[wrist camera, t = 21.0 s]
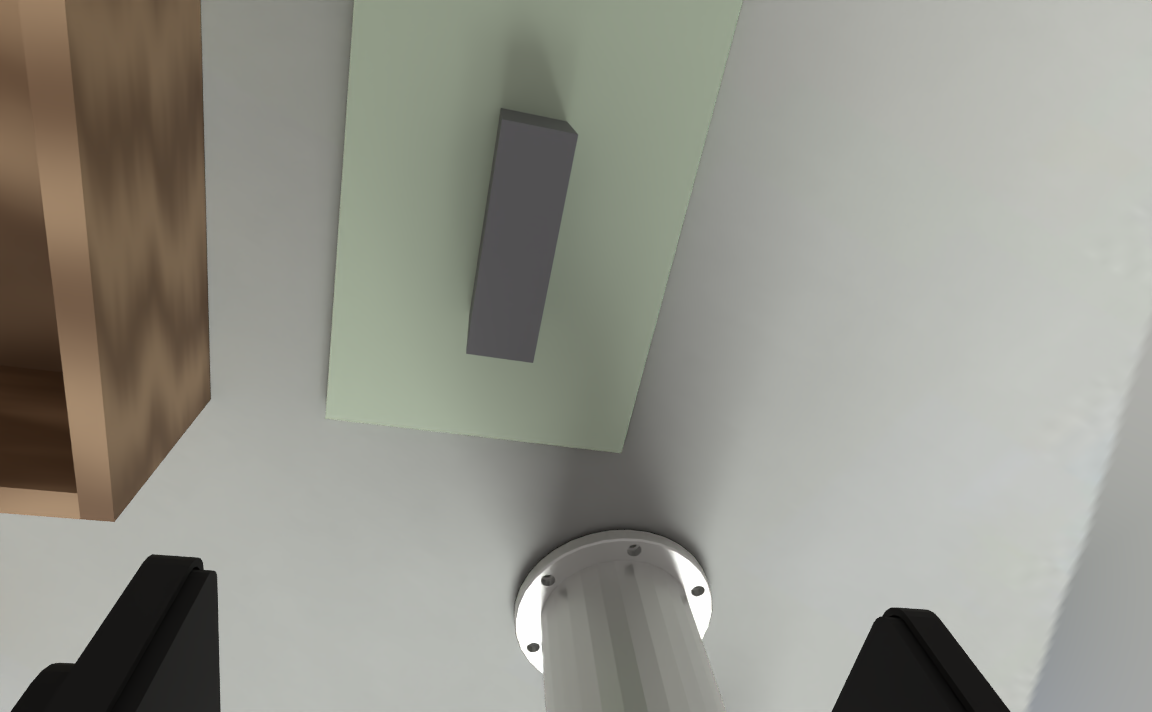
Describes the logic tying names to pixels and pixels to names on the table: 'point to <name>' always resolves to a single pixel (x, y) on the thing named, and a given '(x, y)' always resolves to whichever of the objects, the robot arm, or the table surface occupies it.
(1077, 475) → the table surface
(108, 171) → the toolbox
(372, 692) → the table surface
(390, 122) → the toolbox lid
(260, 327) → the table surface
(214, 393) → the table surface
